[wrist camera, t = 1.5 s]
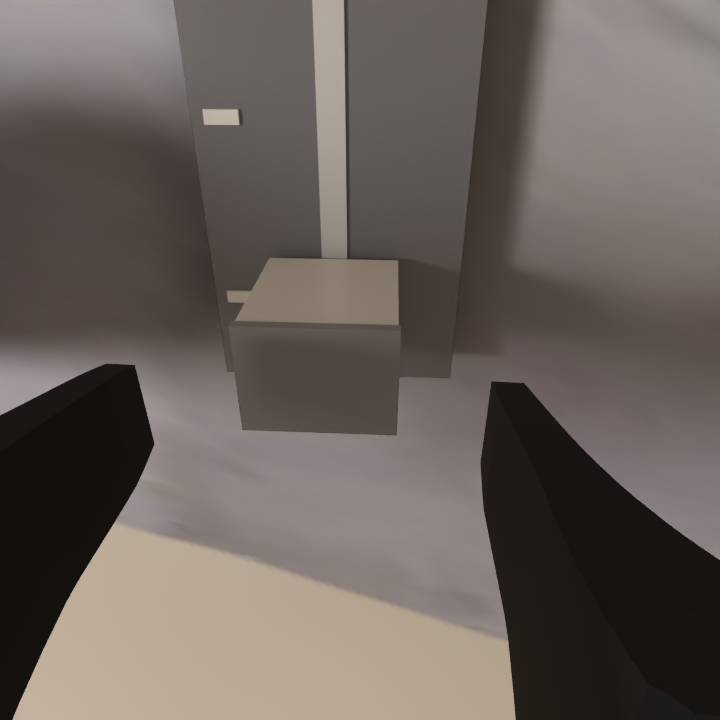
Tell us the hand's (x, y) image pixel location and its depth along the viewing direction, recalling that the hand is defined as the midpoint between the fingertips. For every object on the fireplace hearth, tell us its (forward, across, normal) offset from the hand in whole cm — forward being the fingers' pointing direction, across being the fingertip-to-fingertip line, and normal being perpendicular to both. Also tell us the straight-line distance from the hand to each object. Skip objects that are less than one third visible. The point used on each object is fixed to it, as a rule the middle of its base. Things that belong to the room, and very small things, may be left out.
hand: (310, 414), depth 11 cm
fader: (+7, +1, +1) cm, 7 cm away
